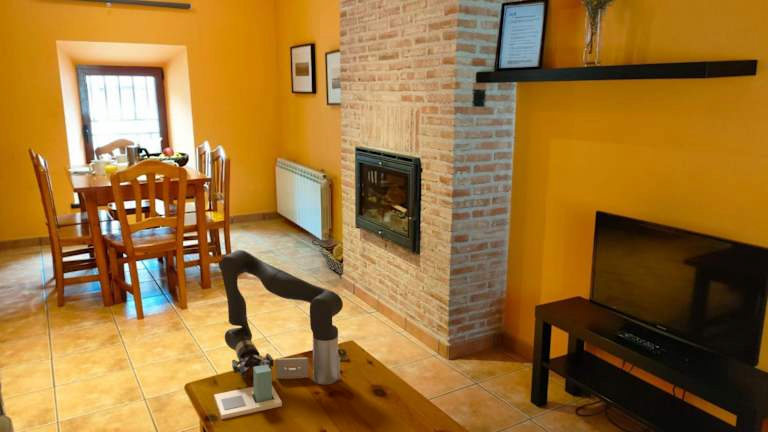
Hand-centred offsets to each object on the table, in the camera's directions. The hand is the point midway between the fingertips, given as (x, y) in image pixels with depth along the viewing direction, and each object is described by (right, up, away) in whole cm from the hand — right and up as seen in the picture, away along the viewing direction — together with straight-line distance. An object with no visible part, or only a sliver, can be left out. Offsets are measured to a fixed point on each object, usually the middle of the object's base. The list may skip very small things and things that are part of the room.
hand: (257, 372), depth 204 cm
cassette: (+11, -5, +11) cm, 16 cm away
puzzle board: (-2, -9, -7) cm, 11 cm away
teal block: (+3, -8, -5) cm, 10 cm away
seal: (+23, -2, +29) cm, 37 cm away
